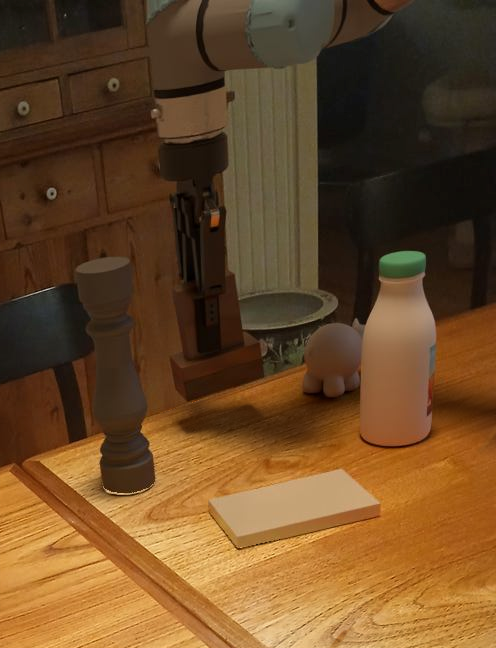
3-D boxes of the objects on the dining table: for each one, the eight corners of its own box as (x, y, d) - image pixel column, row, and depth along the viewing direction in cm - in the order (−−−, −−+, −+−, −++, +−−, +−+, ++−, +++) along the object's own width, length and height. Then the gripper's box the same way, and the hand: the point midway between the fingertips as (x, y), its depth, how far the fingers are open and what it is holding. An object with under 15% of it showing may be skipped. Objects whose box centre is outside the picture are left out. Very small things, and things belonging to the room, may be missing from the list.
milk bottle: (416, 451, 109) (427, 267, 98) (348, 443, 114) (352, 266, 103) (440, 423, 114) (453, 245, 103) (373, 417, 118) (379, 245, 107)
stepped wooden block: (250, 364, 125) (235, 262, 118) (264, 376, 121) (250, 271, 114) (175, 389, 125) (156, 288, 118) (187, 402, 121) (168, 298, 114)
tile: (341, 480, 107) (342, 468, 106) (380, 515, 99) (381, 502, 98) (208, 512, 106) (207, 499, 105) (237, 549, 99) (237, 536, 98)
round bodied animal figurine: (401, 375, 127) (404, 309, 123) (333, 405, 123) (334, 338, 119) (358, 364, 133) (360, 300, 128) (292, 393, 129) (291, 328, 124)
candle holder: (153, 468, 117) (130, 252, 104) (157, 491, 112) (134, 267, 98) (101, 476, 118) (72, 262, 104) (103, 499, 113) (73, 277, 99)
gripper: (139, 135, 114) (157, 335, 127) (180, 151, 101) (195, 372, 114) (202, 121, 114) (214, 322, 127) (250, 136, 101) (258, 358, 114)
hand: (205, 346), depth 120 cm, fingers closed on stepped wooden block, 3 cm apart
